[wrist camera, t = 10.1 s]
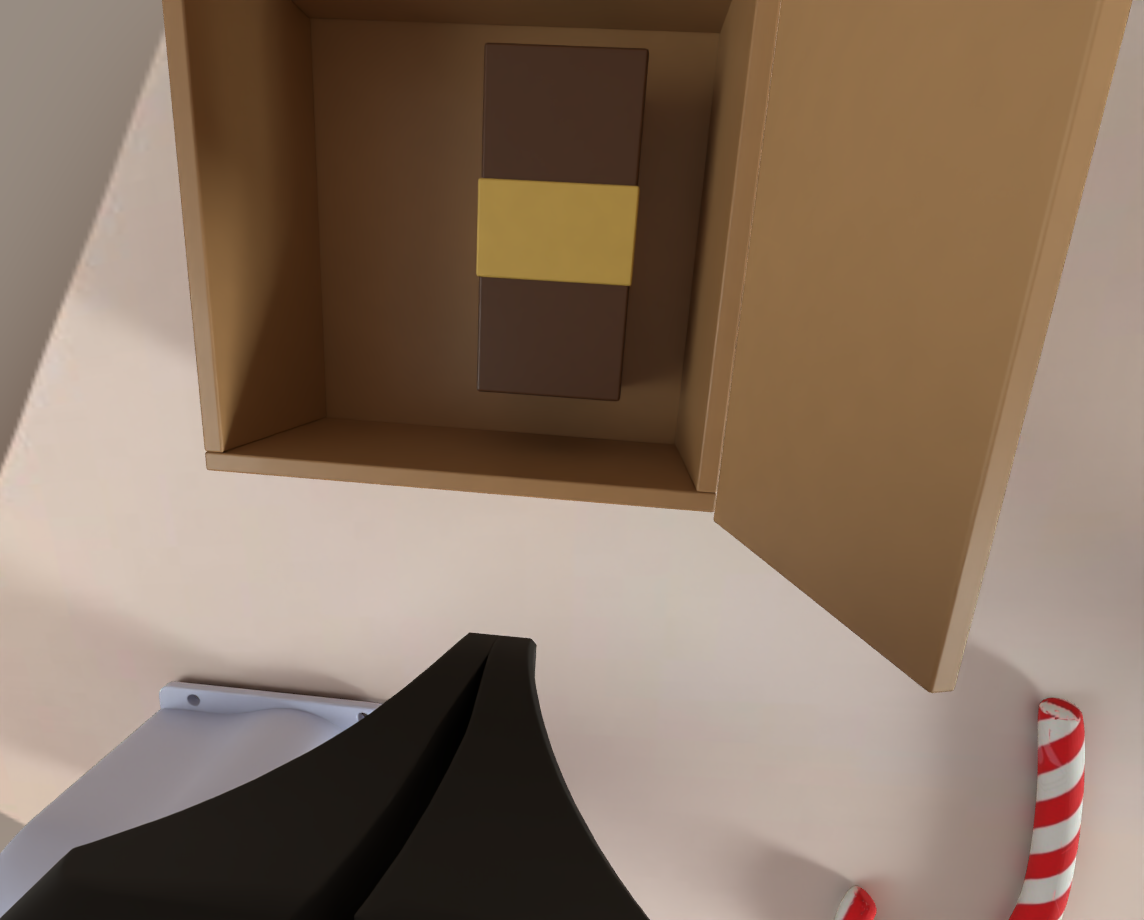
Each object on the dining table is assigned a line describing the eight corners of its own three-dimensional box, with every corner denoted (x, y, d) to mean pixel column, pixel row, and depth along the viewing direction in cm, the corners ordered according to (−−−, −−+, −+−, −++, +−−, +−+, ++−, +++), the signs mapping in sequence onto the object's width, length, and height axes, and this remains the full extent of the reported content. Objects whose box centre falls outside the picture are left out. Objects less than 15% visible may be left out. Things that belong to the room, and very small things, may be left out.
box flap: (801, -162, 10) (821, -157, 10) (712, 520, 13) (728, 520, 13) (1304, -825, 4) (1343, -800, 4) (929, 694, 7) (956, 692, 7)
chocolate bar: (620, 387, 19) (622, 402, 16) (498, 378, 19) (472, 392, 16) (645, 99, 17) (652, 45, 14) (507, 93, 17) (480, 38, 14)
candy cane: (1177, 736, 20) (1006, 1042, 23) (1143, 711, 21) (986, 1005, 25) (950, 685, 20) (817, 997, 24) (930, 663, 21) (807, 962, 25)
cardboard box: (735, 22, 17) (799, -134, 11) (685, 456, 20) (714, 513, 14) (303, 7, 17) (147, -147, 12) (321, 427, 21) (205, 470, 15)
